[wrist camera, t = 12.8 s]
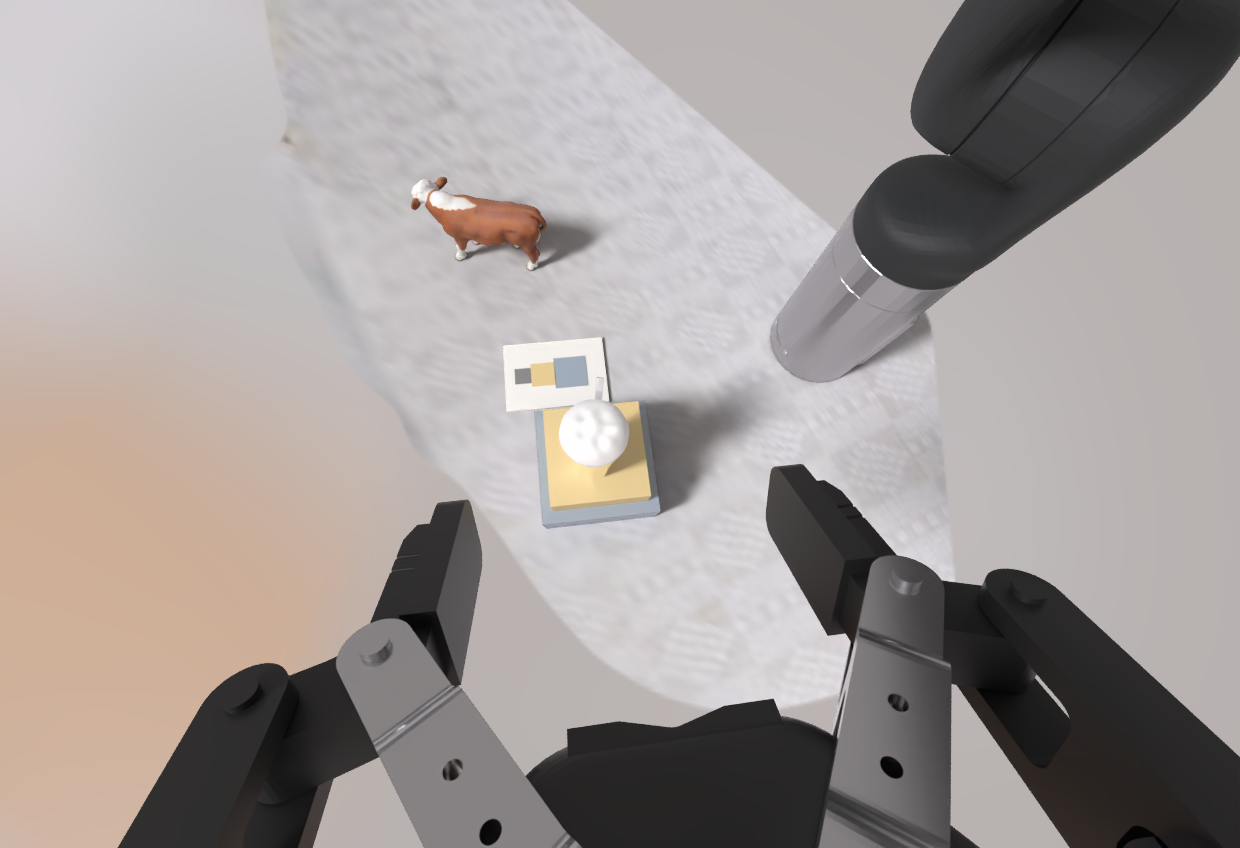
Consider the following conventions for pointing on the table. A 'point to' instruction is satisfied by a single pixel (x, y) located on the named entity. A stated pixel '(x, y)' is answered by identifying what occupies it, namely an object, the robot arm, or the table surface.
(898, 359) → the table surface
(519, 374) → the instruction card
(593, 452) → the milkshake
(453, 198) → the bull figurine
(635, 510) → the tower base
